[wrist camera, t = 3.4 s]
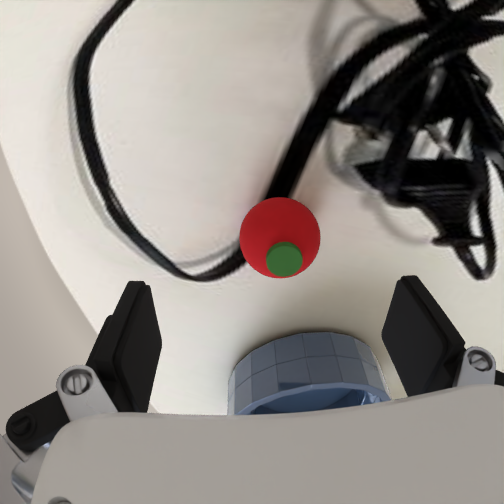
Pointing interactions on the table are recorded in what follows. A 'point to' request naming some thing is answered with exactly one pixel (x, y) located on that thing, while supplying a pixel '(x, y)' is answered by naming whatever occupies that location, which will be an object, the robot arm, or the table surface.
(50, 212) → the table surface
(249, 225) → the tomato
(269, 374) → the bowl
